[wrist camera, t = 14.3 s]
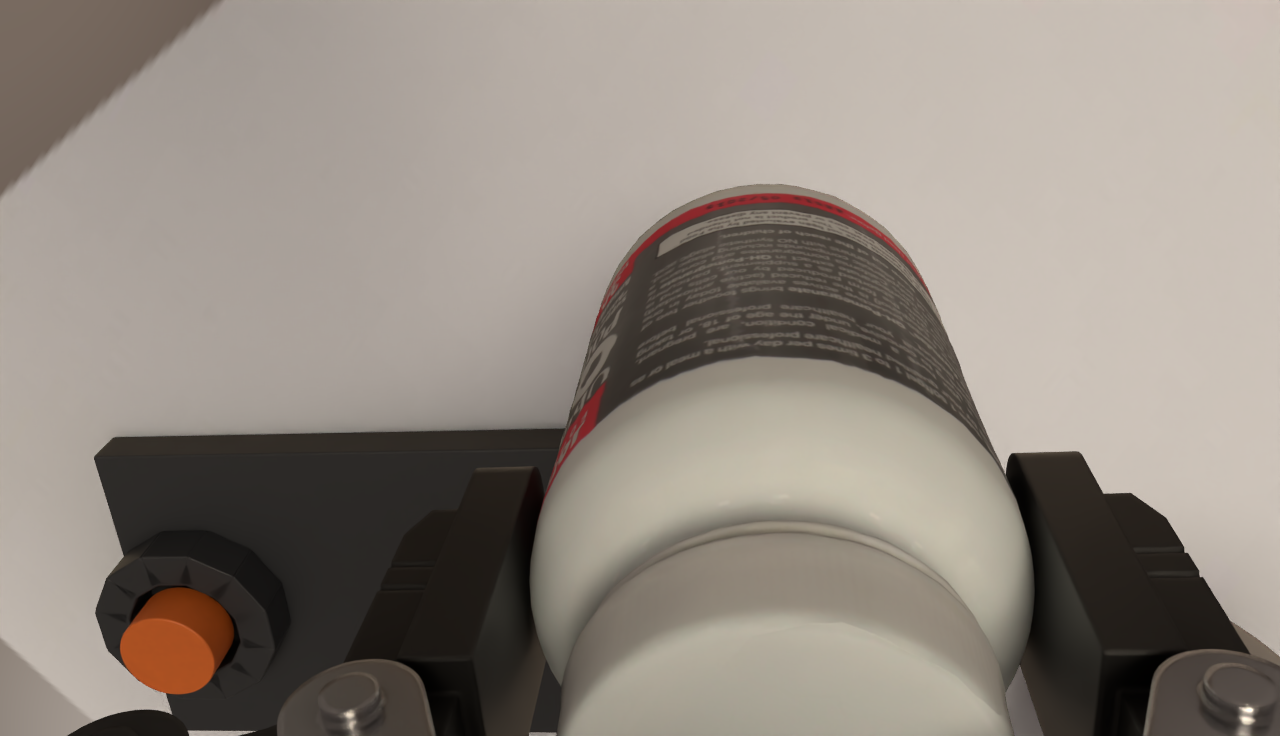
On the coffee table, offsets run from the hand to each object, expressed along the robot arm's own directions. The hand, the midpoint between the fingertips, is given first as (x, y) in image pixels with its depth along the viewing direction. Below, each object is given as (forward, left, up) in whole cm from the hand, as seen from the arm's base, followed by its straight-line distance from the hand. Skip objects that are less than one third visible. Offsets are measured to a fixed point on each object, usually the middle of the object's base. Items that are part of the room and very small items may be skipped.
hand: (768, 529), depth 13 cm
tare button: (-2, -25, -19) cm, 32 cm away
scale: (+2, -21, -22) cm, 31 cm away
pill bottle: (0, 0, -6) cm, 6 cm away
